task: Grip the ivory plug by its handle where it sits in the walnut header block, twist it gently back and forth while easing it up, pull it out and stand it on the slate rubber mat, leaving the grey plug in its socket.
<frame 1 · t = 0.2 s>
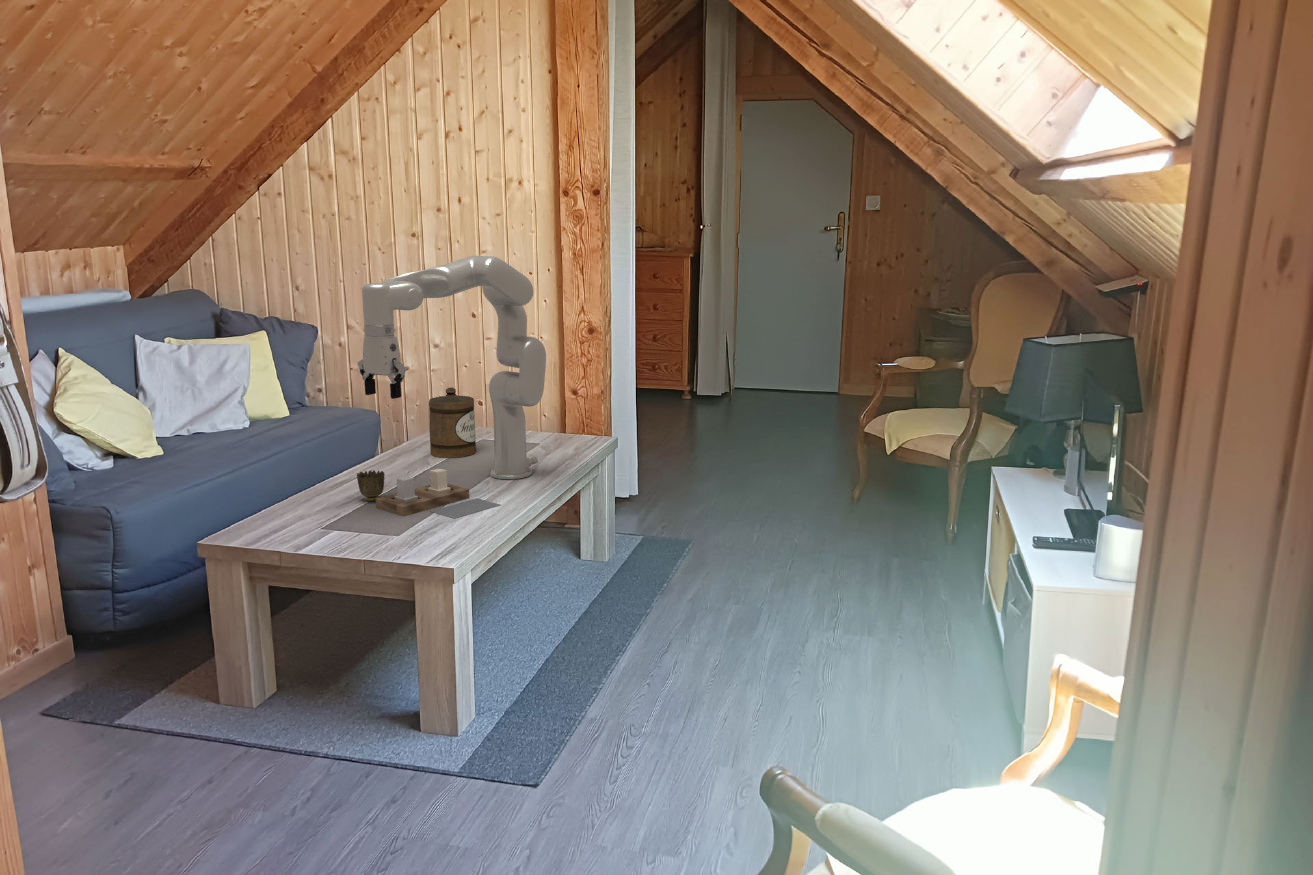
hand: (383, 396, 262), 30 cm above the table, fingers open, 9 cm apart
mat: (466, 510, 266), on the table
grey plug: (406, 507, 266), resting on header
header: (423, 504, 271), on the table
ivory plug: (439, 498, 275), resting on header
cup: (372, 501, 274), on the table
wooden container: (453, 453, 330), on the table
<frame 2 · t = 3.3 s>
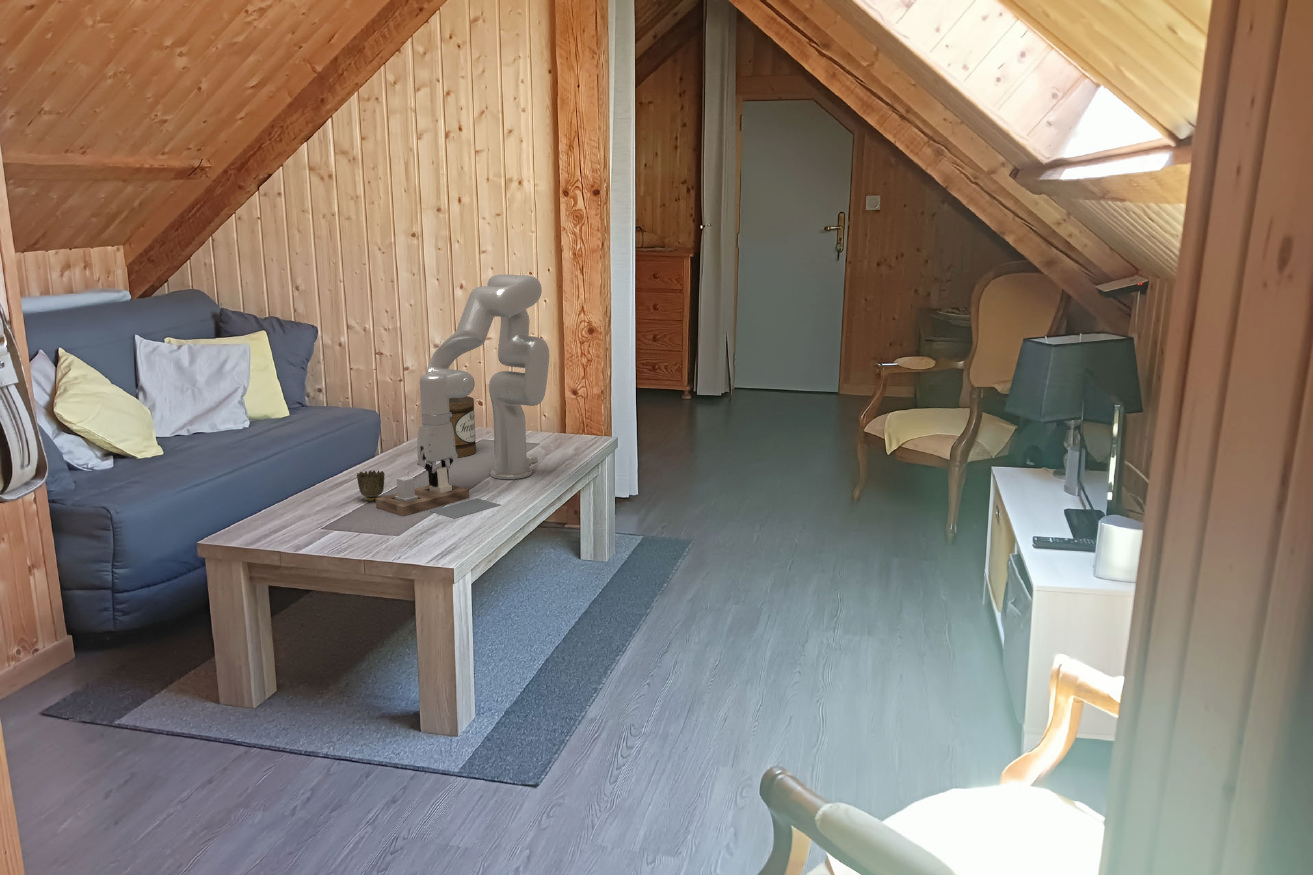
hand: (439, 483, 274), 5 cm above the table, fingers closed on ivory plug, 3 cm apart
ivory plug: (441, 496, 274), point 1 cm above the table, tilted 6°, touching gripper, header
everything else where it was.
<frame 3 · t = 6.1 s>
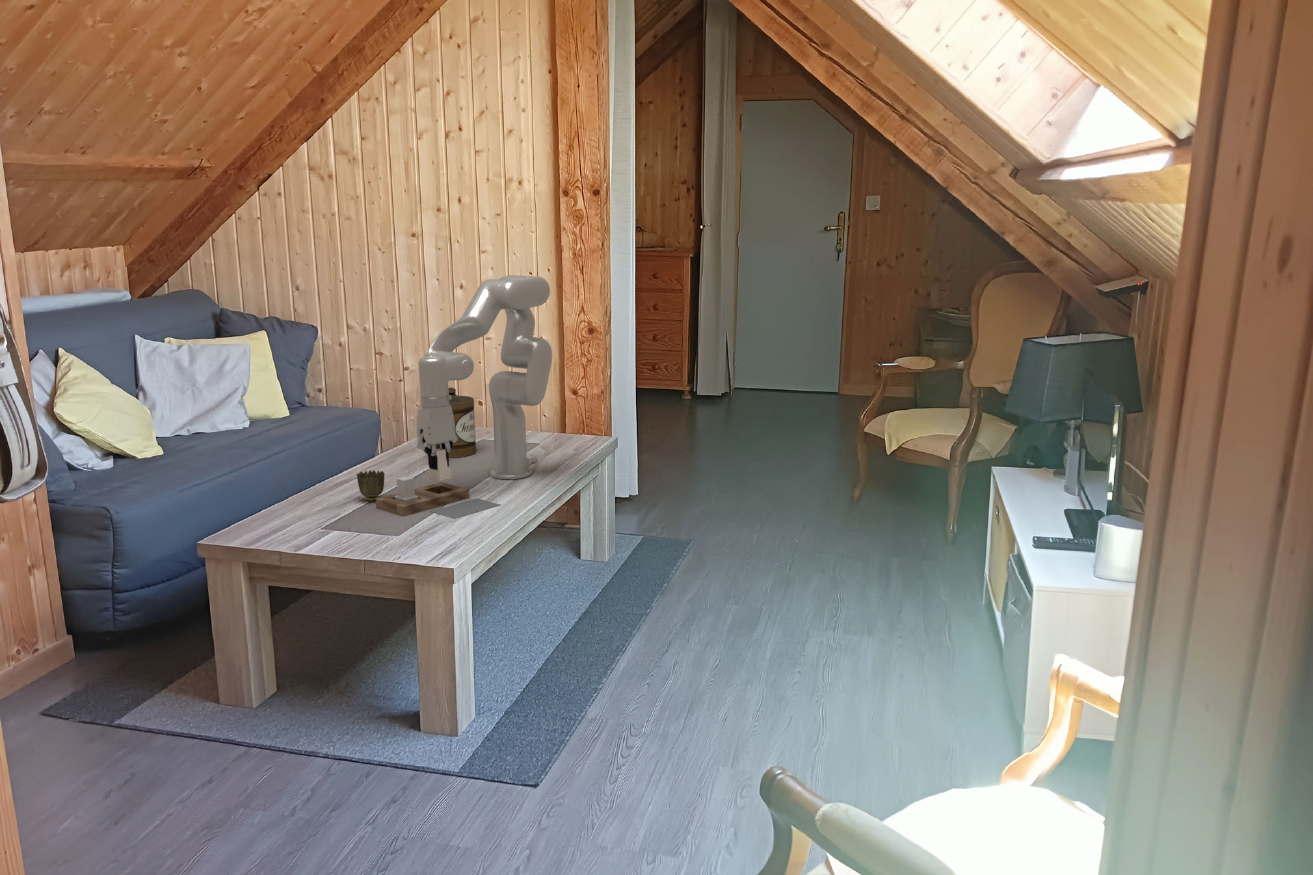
hand: (439, 466, 273), 9 cm above the table, fingers closed on ivory plug, 3 cm apart
ivory plug: (440, 478, 274), point 6 cm above the table, tilted 5°, touching gripper
everything else where it was.
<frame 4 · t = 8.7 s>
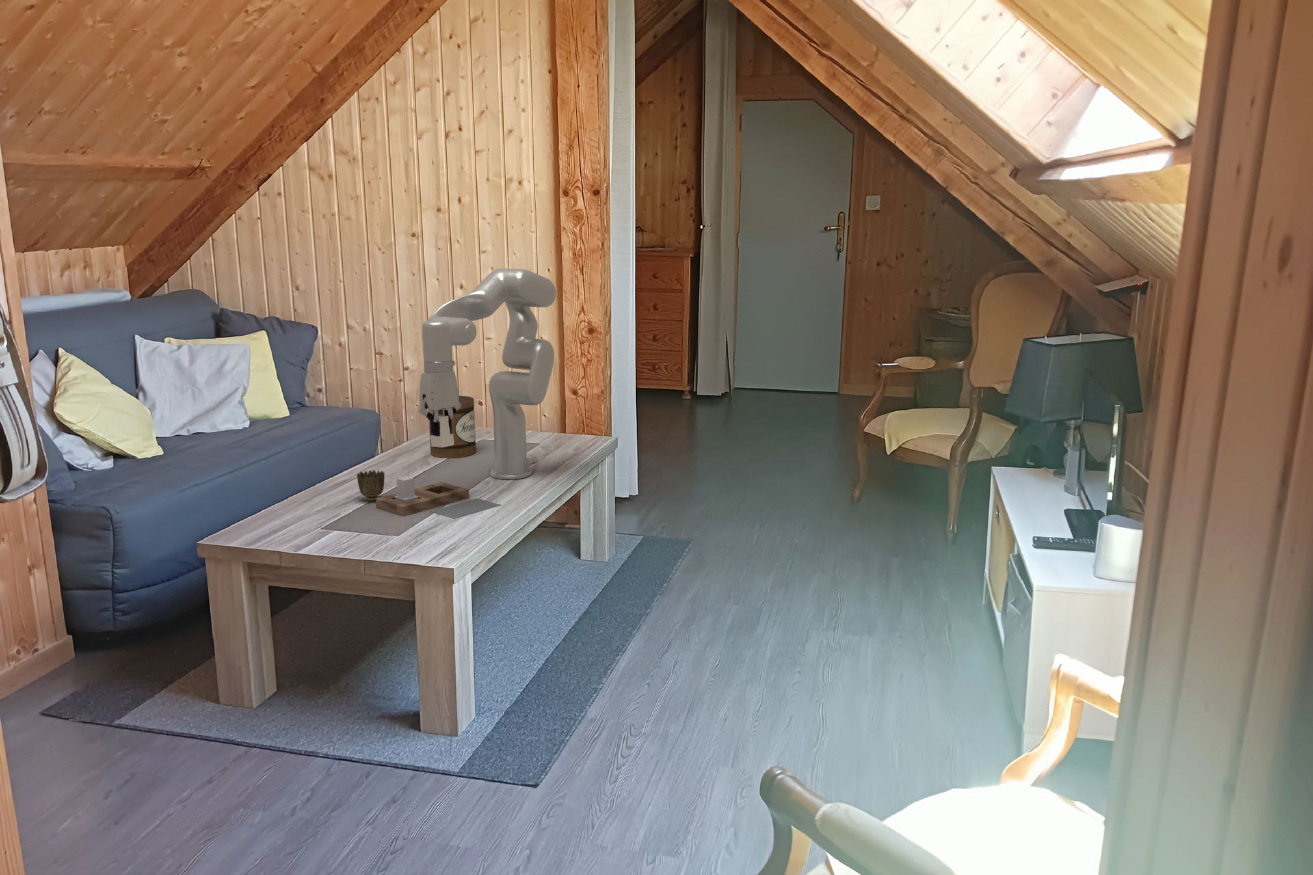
hand: (441, 433, 269), 19 cm above the table, fingers closed on ivory plug, 3 cm apart
ivory plug: (442, 445, 269), point 16 cm above the table, tilted 5°, touching gripper
everything else where it was.
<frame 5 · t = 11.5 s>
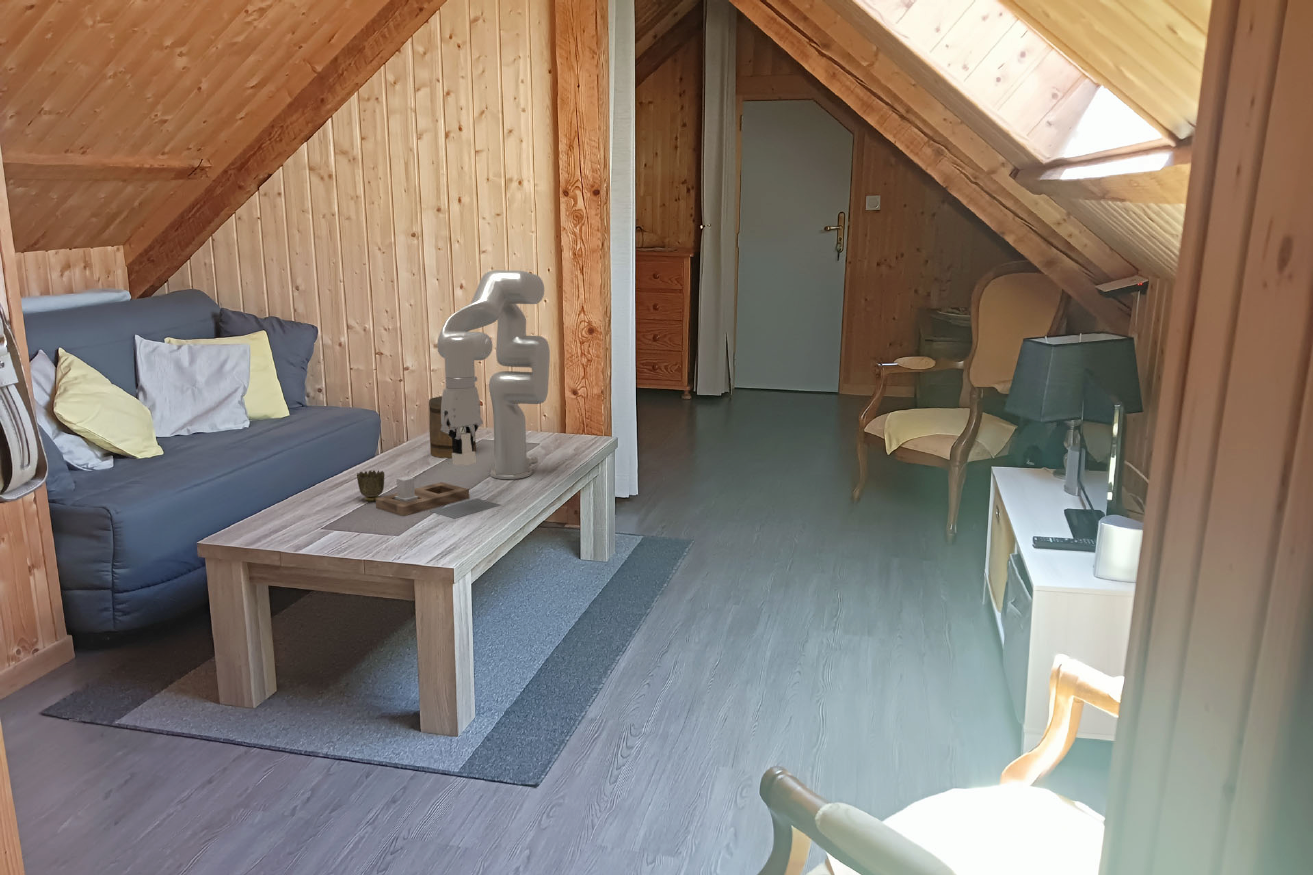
hand: (463, 451, 262), 16 cm above the table, fingers closed on ivory plug, 3 cm apart
ivory plug: (464, 463, 262), point 13 cm above the table, tilted 6°, touching gripper
everything else where it was.
when the fingers open (6 cm above the table, at t = 13.9 s): ivory plug drops 2 cm, resting on mat.
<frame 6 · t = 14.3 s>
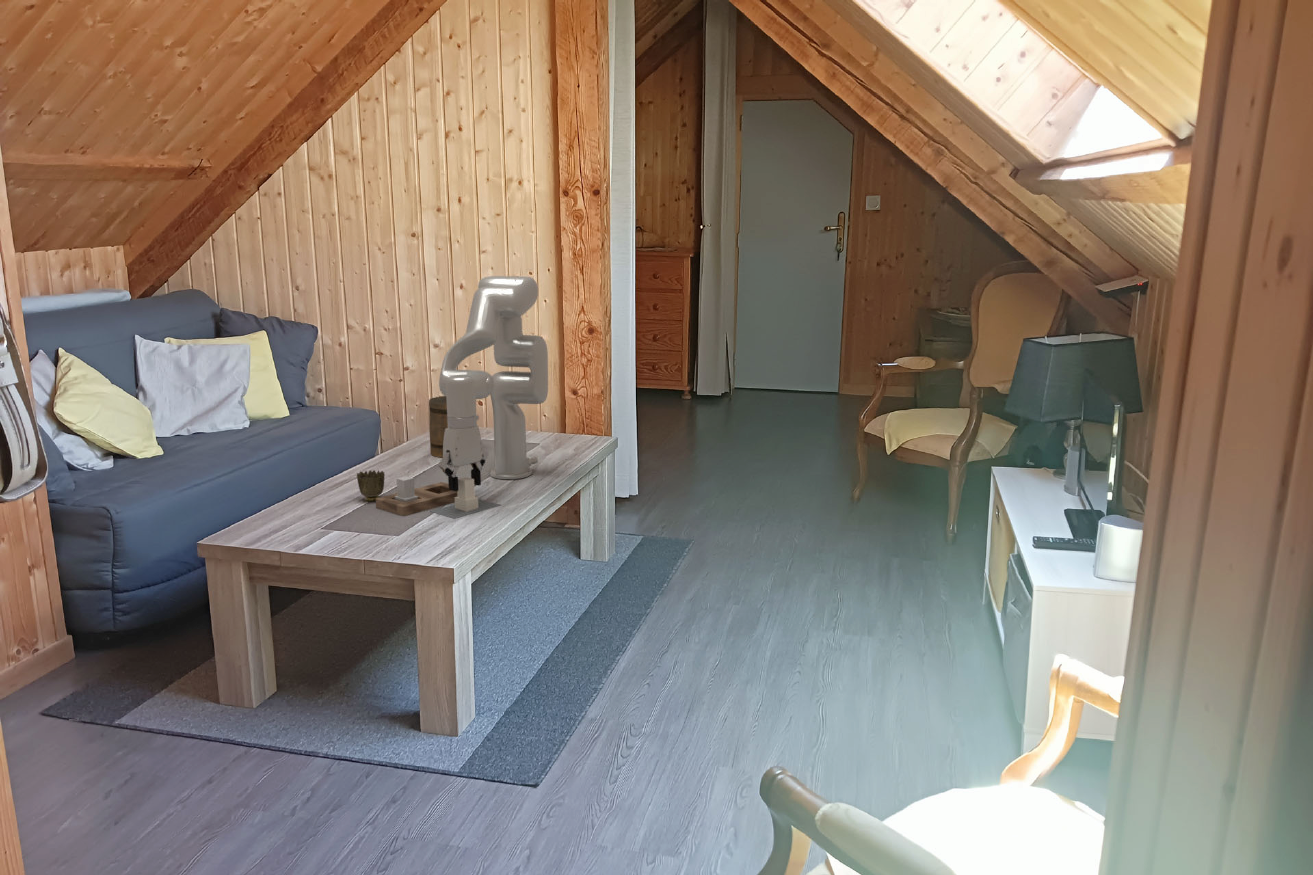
hand: (465, 487, 264), 6 cm above the table, fingers open, 7 cm apart
ivory plug: (466, 508, 265), point 1 cm above the table, touching mat
everything else where it was.
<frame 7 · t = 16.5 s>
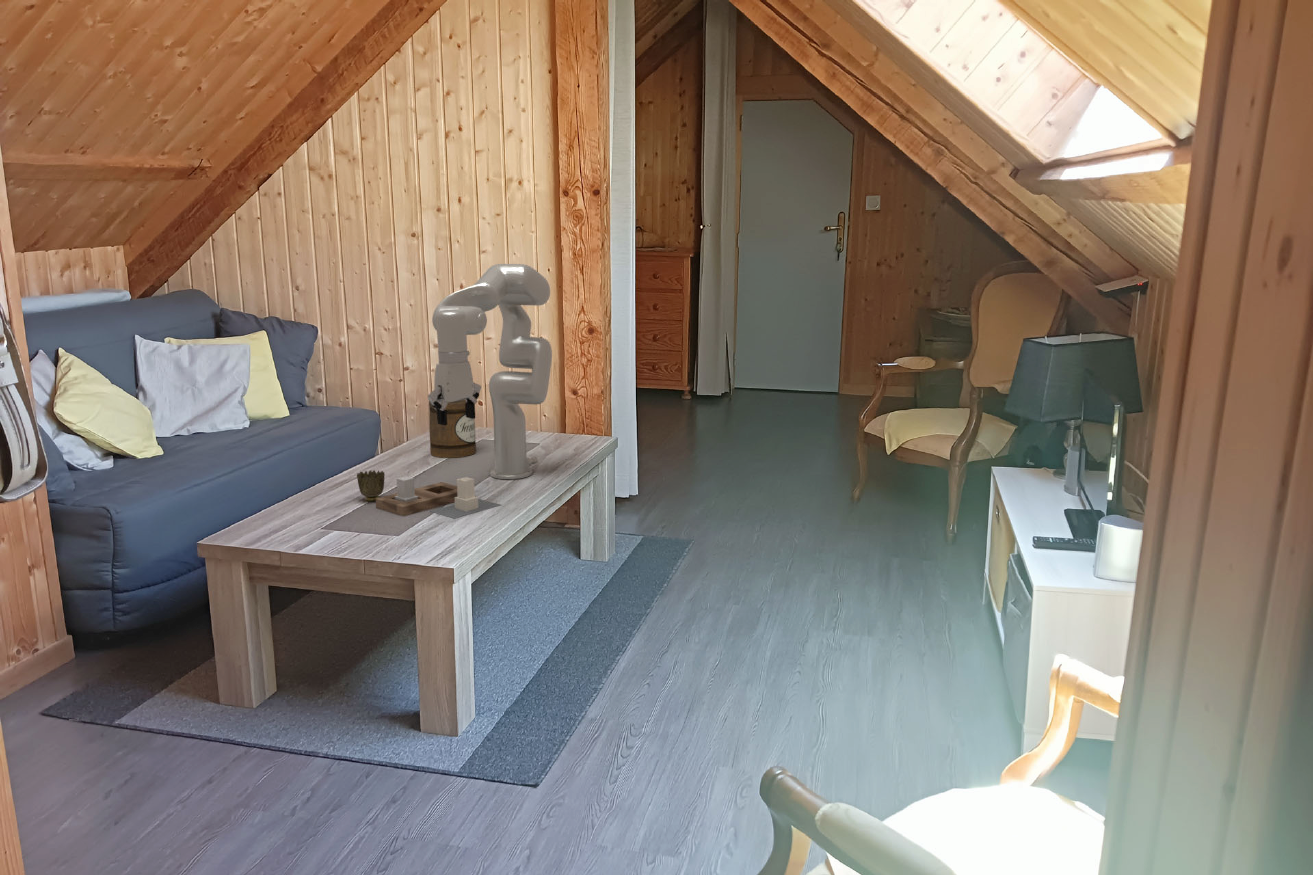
hand: (456, 421, 264), 24 cm above the table, fingers open, 9 cm apart
nothing on the table moved.
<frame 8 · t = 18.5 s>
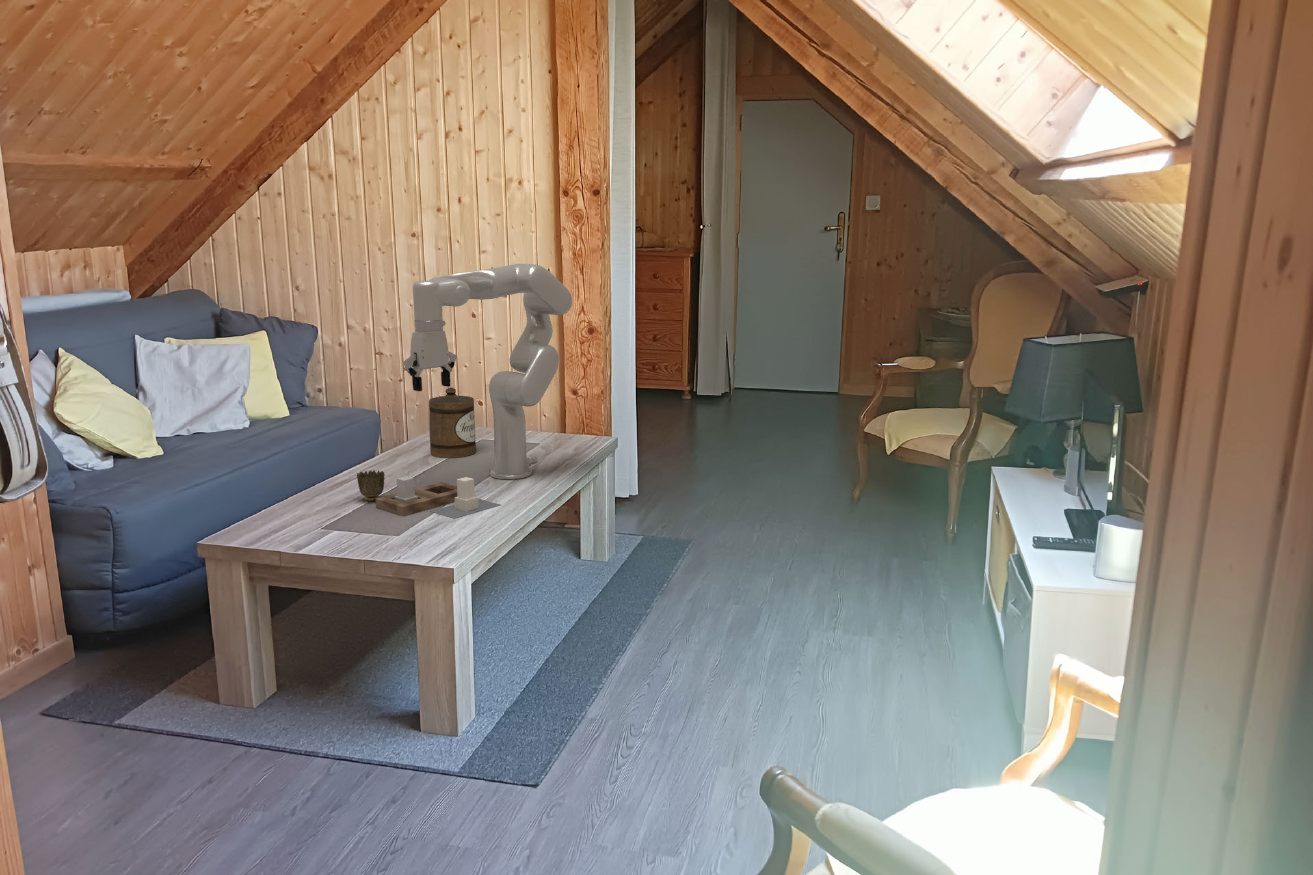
hand: (432, 388, 274), 30 cm above the table, fingers open, 9 cm apart
nothing on the table moved.
at the end: ivory plug inside the target area on the mat (0.3 cm from its centre), point 0.6 cm above the mat's base; ivory plug tilted 0°; grey plug moved 0.1 cm from its start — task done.
